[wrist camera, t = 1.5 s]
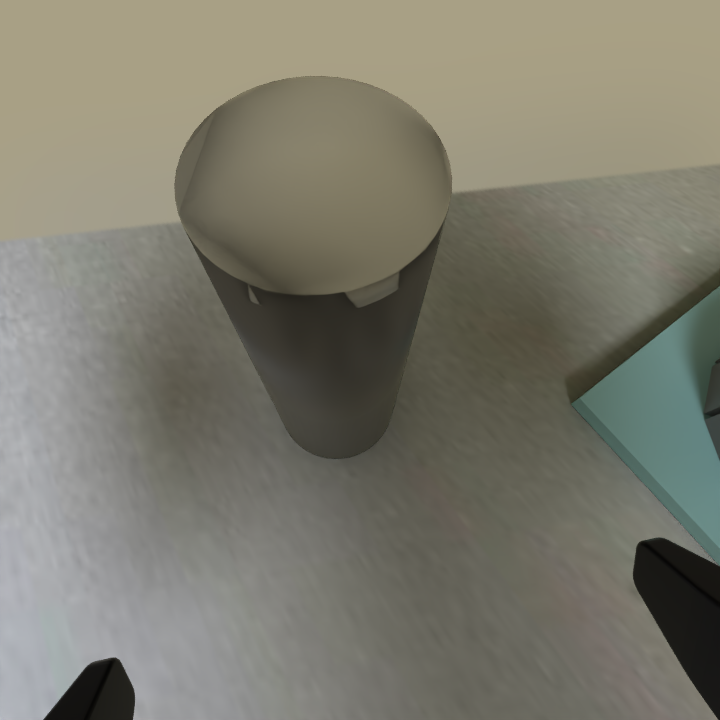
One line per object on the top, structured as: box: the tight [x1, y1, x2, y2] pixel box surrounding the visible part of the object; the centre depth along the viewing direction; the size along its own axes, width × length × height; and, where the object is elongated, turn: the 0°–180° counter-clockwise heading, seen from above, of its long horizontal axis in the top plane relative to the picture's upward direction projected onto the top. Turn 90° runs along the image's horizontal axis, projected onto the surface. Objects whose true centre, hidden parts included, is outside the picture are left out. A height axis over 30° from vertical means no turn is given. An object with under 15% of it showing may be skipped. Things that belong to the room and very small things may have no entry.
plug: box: [175, 76, 452, 459], centre depth 14 cm, size 4×4×12 cm
